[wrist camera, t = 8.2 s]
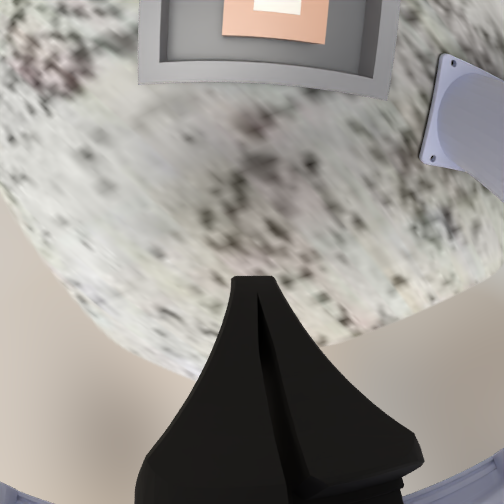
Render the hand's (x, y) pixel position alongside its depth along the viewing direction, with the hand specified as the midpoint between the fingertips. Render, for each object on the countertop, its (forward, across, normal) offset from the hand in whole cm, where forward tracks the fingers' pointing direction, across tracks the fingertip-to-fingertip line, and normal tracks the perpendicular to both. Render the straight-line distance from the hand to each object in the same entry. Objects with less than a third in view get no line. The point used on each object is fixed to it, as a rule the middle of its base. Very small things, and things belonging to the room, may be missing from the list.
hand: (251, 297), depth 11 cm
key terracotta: (+9, -1, -11) cm, 14 cm away
